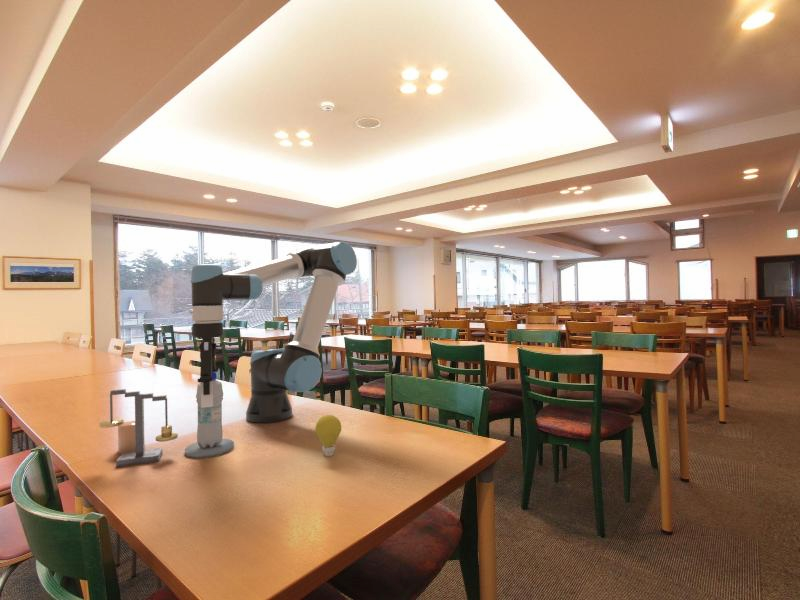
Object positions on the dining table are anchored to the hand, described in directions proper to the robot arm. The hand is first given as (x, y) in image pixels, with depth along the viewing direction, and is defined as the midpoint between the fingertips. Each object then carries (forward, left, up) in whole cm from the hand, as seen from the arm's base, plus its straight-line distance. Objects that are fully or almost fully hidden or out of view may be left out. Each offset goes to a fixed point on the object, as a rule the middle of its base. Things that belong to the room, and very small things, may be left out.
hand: (209, 401), depth 113 cm
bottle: (0, 0, -12) cm, 12 cm away
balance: (+16, +1, -13) cm, 21 cm away
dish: (0, 0, -13) cm, 13 cm away
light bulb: (-29, +16, -13) cm, 36 cm away
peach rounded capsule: (+20, -9, -13) cm, 26 cm away
